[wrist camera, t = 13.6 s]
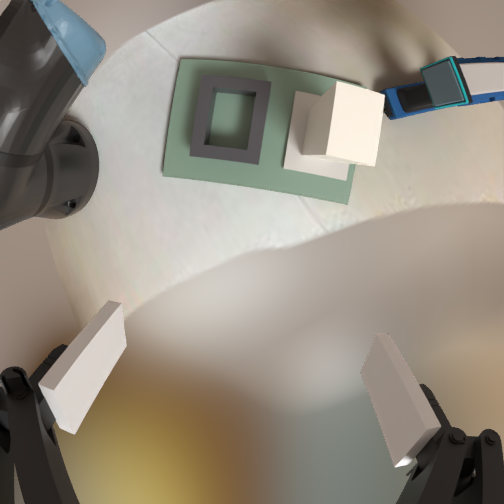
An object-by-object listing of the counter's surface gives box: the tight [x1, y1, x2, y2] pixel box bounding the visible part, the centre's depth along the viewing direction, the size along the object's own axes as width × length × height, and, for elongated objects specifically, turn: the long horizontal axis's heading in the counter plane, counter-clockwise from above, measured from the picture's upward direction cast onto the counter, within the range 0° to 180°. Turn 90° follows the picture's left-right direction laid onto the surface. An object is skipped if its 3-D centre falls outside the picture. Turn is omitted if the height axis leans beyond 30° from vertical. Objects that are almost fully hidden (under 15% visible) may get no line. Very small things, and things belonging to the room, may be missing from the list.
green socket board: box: [163, 59, 367, 205], centre depth 32 cm, size 24×16×4 cm, turn 81°
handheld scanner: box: [380, 56, 504, 120], centre depth 22 cm, size 5×16×20 cm, turn 112°
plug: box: [302, 81, 385, 167], centre depth 26 cm, size 4×6×14 cm, turn 171°
